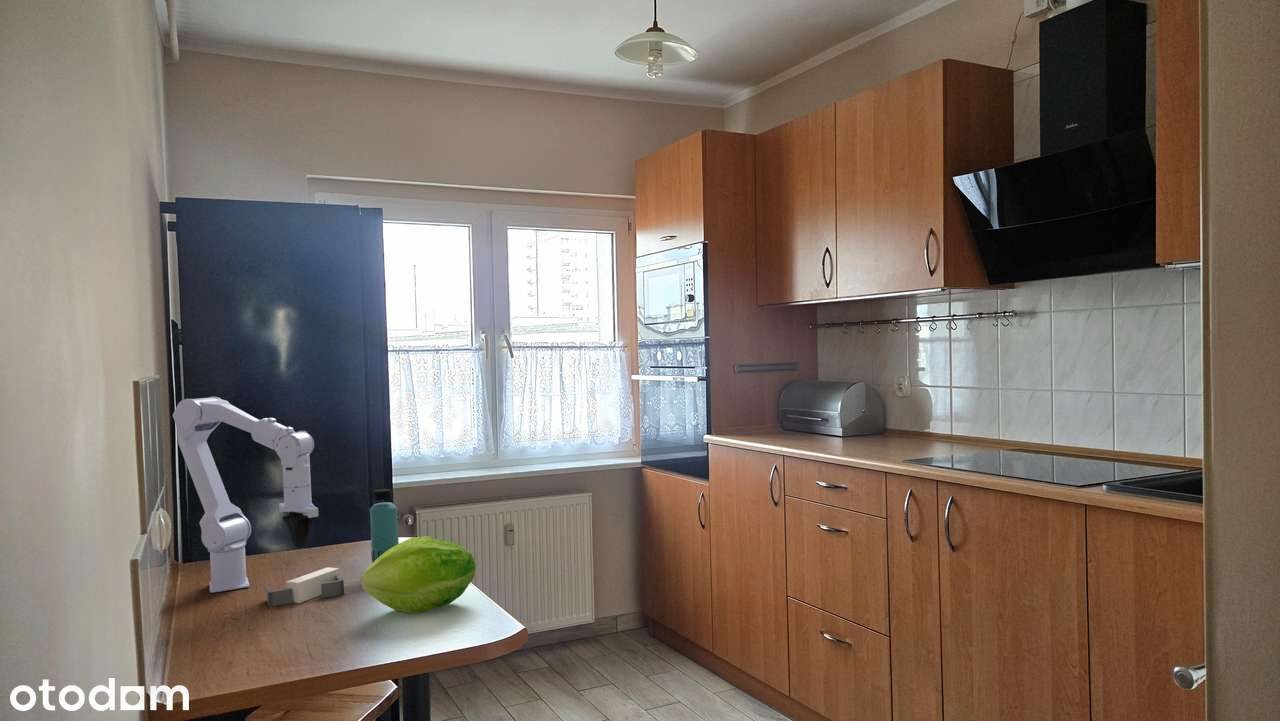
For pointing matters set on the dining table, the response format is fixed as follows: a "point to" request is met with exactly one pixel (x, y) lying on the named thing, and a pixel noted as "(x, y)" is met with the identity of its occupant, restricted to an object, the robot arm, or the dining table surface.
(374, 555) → the beverage bottle
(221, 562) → the robot arm
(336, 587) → the end cap
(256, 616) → the dining table surface
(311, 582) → the cream rectangular block
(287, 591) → the end cap
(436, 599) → the green papaya
